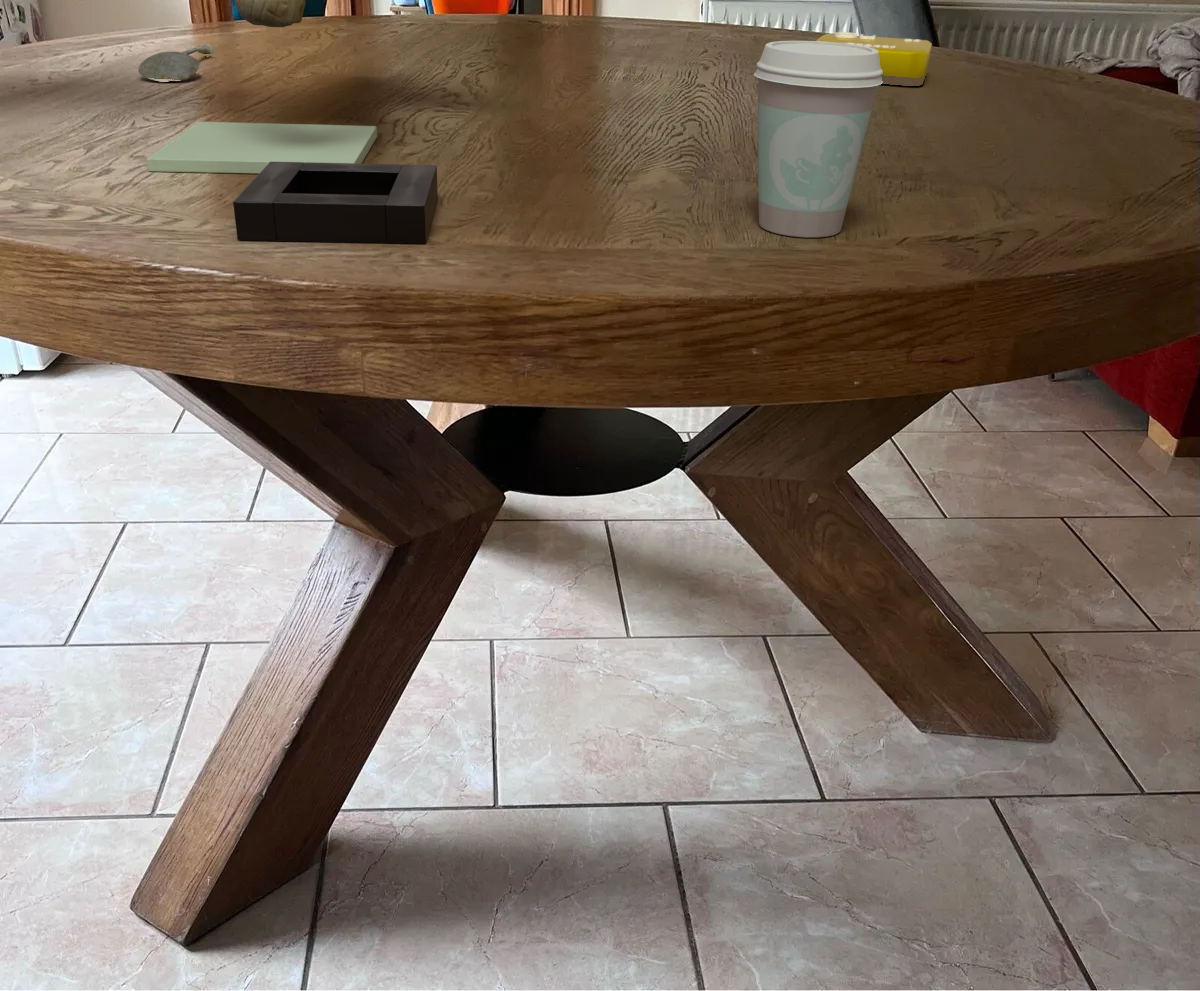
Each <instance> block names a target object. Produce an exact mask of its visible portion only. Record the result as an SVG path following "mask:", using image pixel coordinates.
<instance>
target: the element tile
mask: <svg viewBox="0 0 1200 991" xmlns="http://www.w3.org/2000/svg"><path fill="white" fill-rule="evenodd" d="M815 41H822V42H836V43H846V44H854V45H860V46H866V47H870V48H874V49H876V50H878V51H879V59H880V68H881V69H882V71H883V74H882V75H884V76H896V77H909V78H910V77H911V78H919V77H924V76H925V75H926V72H927V68H928V69H929V66H930V59H931V52H932V48H933V43H932V42H931V41H929V40H927V39H918V38H917V39H913V38H899V37H882V36H877V34H872V35H865V34H864V33H861V34H859V35H858V33H857V32H849V31H836V32H834V33H827V34H826V33H825V34H823V35H821V36H820V37H818V38H817V39H816V40H815ZM928 65H929V66H928ZM927 73H928V72H927ZM926 76H927V75H926Z"/></svg>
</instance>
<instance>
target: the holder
mask: <svg viewBox="0 0 1200 991" xmlns="http://www.w3.org/2000/svg"><path fill="white" fill-rule="evenodd" d="M438 194H439V193H438V165H436V164H399V163H398V164H397V163H396V164H395V163H362V164H358V163H314V162H305V163H304V162H270V163H269V164H268V165H267V166H266V167H265V168H264V169H263V170H262V171H261V172H260V173H259V174H257V175H256V176H255V177H254V179H253V180H252V181H251V182H250V183H249V184H248V185H247V186H246V188H244V190H243V191H242V192H241V193H240V194H238V196H237V197H236V198H235V199H234V200H233V202H232V205H233V214H234V220H235V221H234V222H235V229H236V239H237V241H249V242H250V241H253V242H254V241H255V242H301V243H302V242H304V243H350V244H351V243H352V244H353V243H359V244H360V243H361V244H363V243H364V244H412V245H413V244H415V245H417V244H419V245H425V244H427V240H428V236H429V233H430V229H431V227H432V222H433V218H434V215H435V210H436V206H437V203H438V199H439V197H438V196H439V195H438Z"/></svg>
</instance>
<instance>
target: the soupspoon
mask: <svg viewBox="0 0 1200 991" xmlns="http://www.w3.org/2000/svg"><path fill="white" fill-rule="evenodd" d="M197 52H198V53H199V54H201V53H202V54H213V55H214V53H215V51H214V47H213V46H212V45H211V44H210V43H202V44H201V45H197V46H196V47H193V48H190V49H187V50H184V51H182V52H180V51H161V52H158V53H155V54H153V55H151V56H149V57H147V58H145V59H144V60H143V61H141V62H140V63H139V67H138V69H137V70H138V73H139V74H140V75H141V76H142V77H143V78H145V77H146V78H154V79H172V80H173V79H174V80H183V81H186V80H188V79H190V78H192V77H193V76H194V75H195V74H196V73H197V72H198V70H199V68H200V62H199V60H198V59H197V58H196V57H193V56H192V54H194V53H197ZM146 78H145V79H146Z"/></svg>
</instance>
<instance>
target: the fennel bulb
mask: <svg viewBox="0 0 1200 991" xmlns="http://www.w3.org/2000/svg"><path fill="white" fill-rule="evenodd" d="M233 1H234V4H235V7H236V9H237V11H238V12H239V15H240V16H241V18H242V19H243V20H245V21H246V22H247V23H249V24H251V25H253V26H263V27H269V28H286V27H291V26H292V25H293V24H300V23H301V22H302V20H303V15H304V11H305V8H306V0H233Z"/></svg>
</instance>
